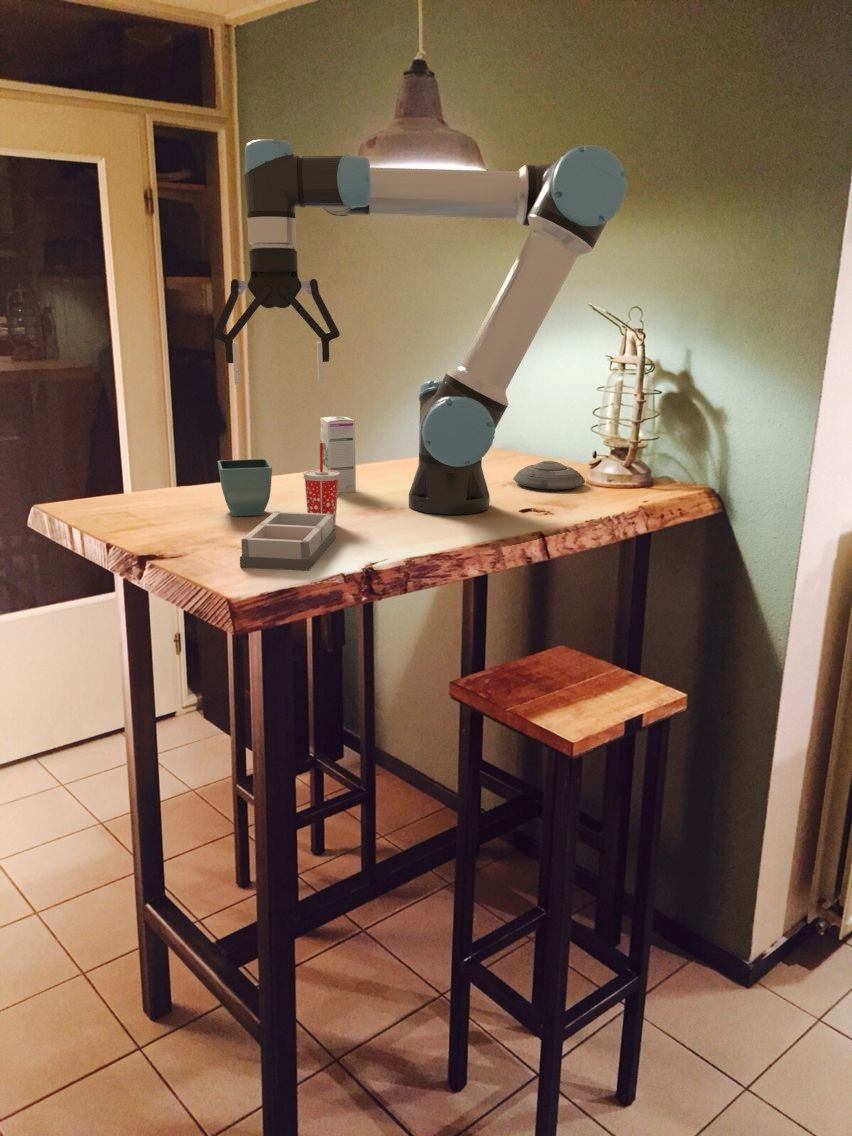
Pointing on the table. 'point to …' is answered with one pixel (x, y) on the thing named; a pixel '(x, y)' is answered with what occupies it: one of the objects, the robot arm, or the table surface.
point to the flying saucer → (549, 476)
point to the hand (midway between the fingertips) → (279, 383)
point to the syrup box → (340, 450)
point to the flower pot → (246, 485)
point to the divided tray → (288, 541)
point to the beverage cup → (321, 489)
